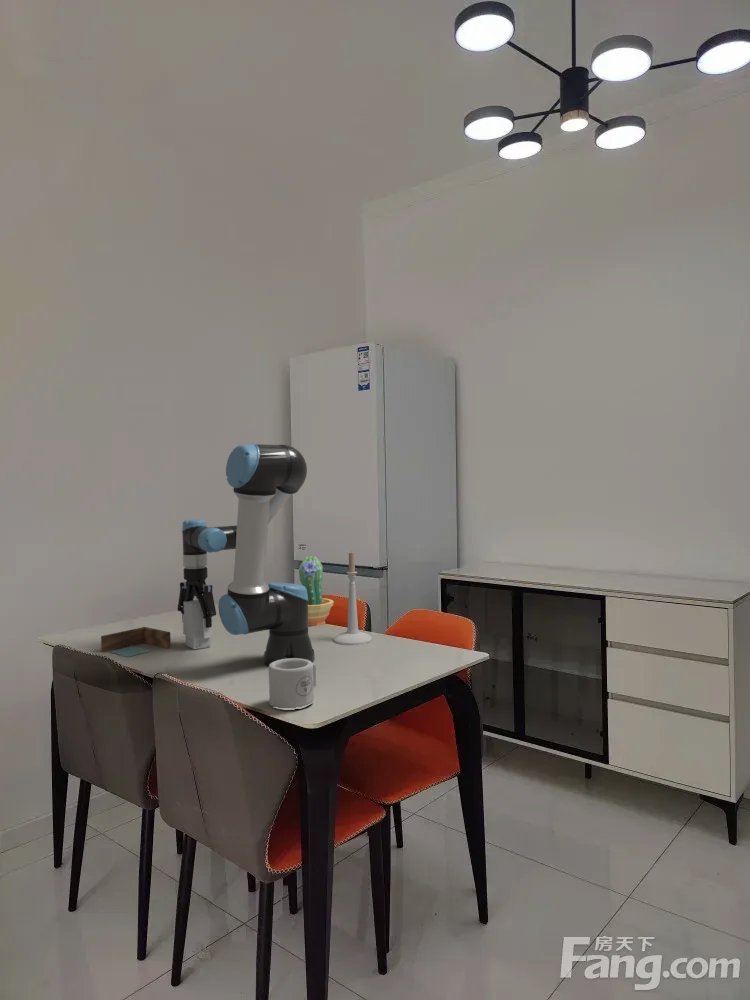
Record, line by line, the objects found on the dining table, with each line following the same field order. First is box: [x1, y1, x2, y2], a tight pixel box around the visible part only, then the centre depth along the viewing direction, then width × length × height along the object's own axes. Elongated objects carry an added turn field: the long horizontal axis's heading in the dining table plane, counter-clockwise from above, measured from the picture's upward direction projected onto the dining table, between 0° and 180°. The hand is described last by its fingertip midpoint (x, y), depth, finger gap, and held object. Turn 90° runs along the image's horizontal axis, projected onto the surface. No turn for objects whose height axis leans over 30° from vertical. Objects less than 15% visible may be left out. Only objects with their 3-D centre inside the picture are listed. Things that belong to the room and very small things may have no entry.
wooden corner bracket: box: [100, 626, 172, 653], centre depth 223 cm, size 14×16×5 cm
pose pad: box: [109, 645, 151, 658], centre depth 220 cm, size 10×8×1 cm
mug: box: [268, 658, 317, 708], centre depth 170 cm, size 14×11×10 cm
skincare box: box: [183, 599, 211, 650], centre depth 226 cm, size 8×6×15 cm
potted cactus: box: [298, 555, 335, 627], centre depth 258 cm, size 15×15×25 cm
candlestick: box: [333, 551, 373, 646], centre depth 231 cm, size 13×13×30 cm
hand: (197, 635), depth 226 cm, fingers closed on skincare box, 9 cm apart
